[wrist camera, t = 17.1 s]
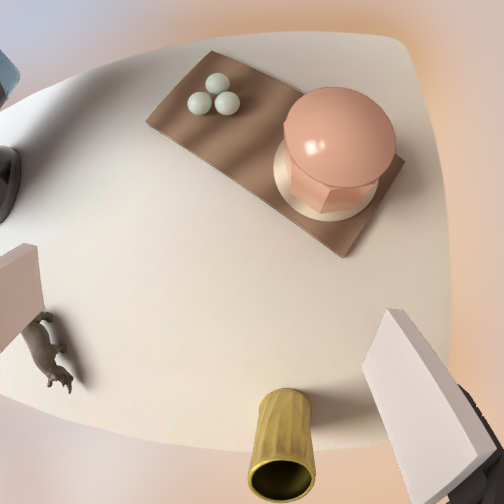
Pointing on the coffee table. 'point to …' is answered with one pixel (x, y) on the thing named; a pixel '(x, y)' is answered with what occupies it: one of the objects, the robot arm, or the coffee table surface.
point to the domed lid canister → (336, 148)
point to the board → (252, 141)
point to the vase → (282, 448)
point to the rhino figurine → (46, 351)
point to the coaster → (301, 207)
